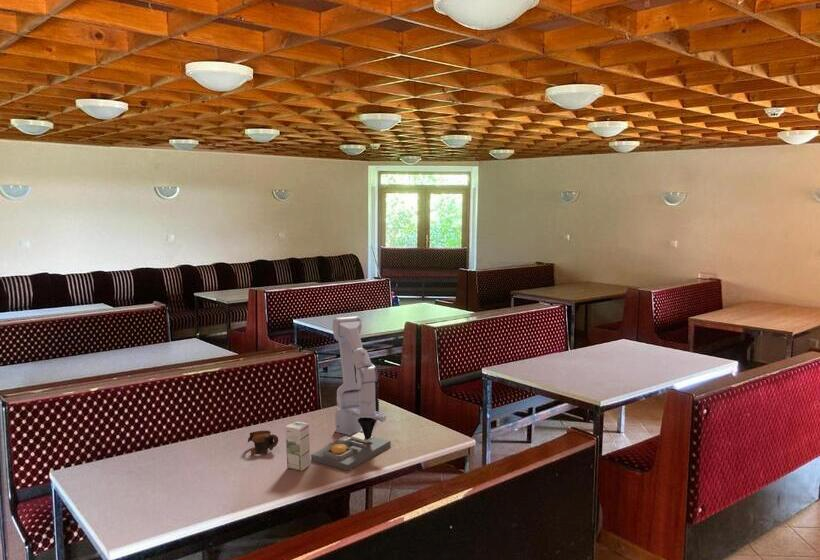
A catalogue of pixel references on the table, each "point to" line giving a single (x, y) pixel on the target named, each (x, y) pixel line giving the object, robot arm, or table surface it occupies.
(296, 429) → the syrup box
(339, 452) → the push button
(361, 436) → the plate
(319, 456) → the control panel
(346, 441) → the pale beige block
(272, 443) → the pottery mug
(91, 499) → the table surface
